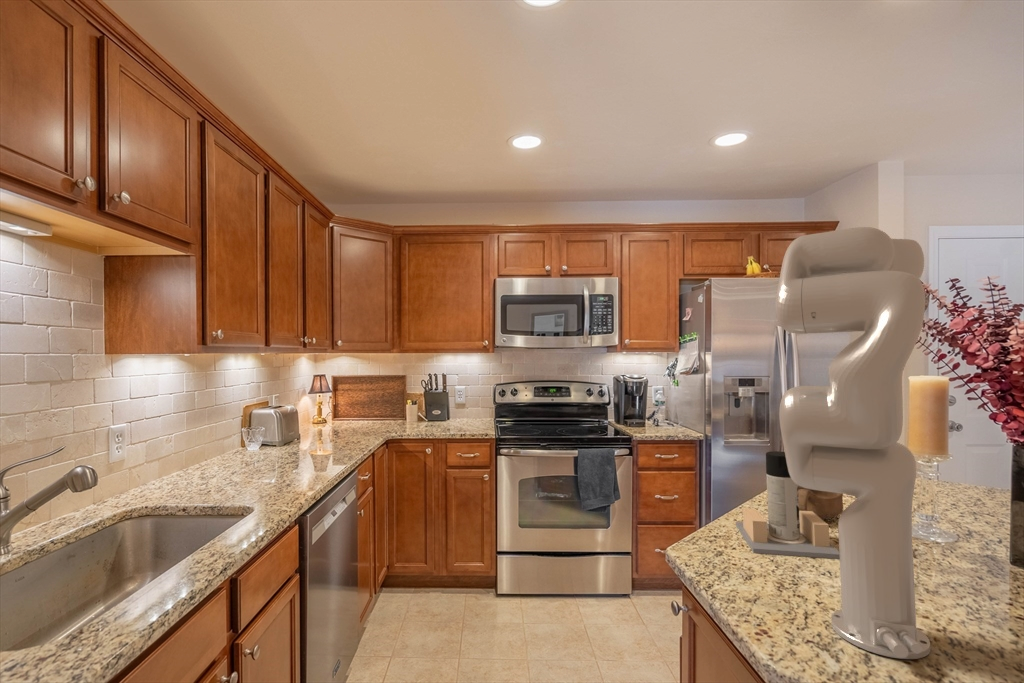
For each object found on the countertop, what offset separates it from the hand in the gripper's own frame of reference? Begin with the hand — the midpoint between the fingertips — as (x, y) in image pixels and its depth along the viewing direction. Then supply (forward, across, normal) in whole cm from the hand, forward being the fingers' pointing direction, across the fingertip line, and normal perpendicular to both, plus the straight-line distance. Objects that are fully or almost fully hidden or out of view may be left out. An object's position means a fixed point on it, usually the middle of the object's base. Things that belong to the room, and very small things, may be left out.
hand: (872, 396), depth 100 cm
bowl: (+37, +33, +1) cm, 49 cm away
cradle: (+36, +14, +14) cm, 41 cm away
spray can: (+35, +14, +14) cm, 40 cm away
